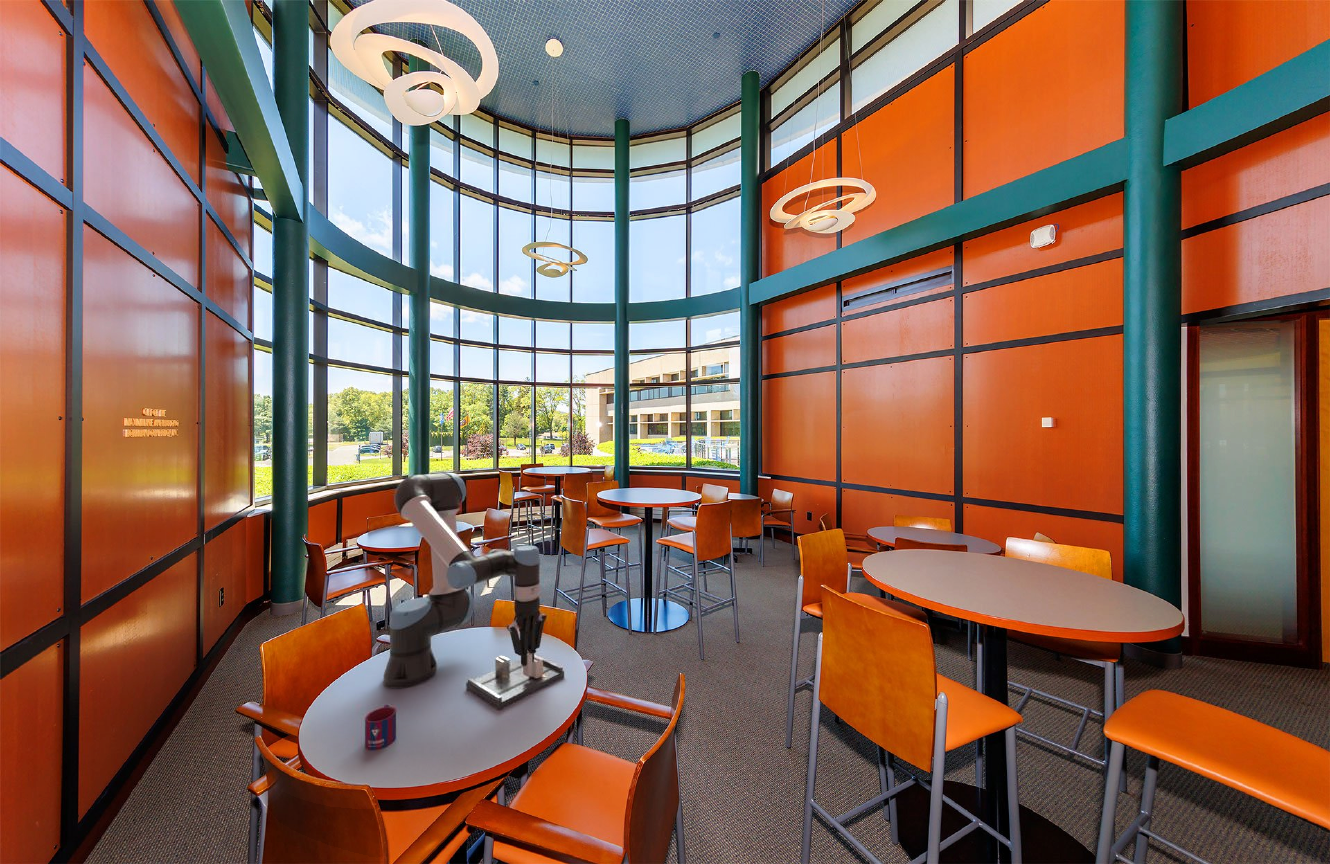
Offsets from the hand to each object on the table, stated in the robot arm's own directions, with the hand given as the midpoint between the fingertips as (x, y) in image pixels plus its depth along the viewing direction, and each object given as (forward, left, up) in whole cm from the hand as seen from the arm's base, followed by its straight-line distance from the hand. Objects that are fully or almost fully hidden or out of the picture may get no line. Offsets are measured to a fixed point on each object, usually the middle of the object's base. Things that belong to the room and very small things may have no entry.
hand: (527, 674), depth 143 cm
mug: (-9, -37, -4) cm, 38 cm away
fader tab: (0, +3, -1) cm, 3 cm away
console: (-5, -1, -4) cm, 6 cm away
